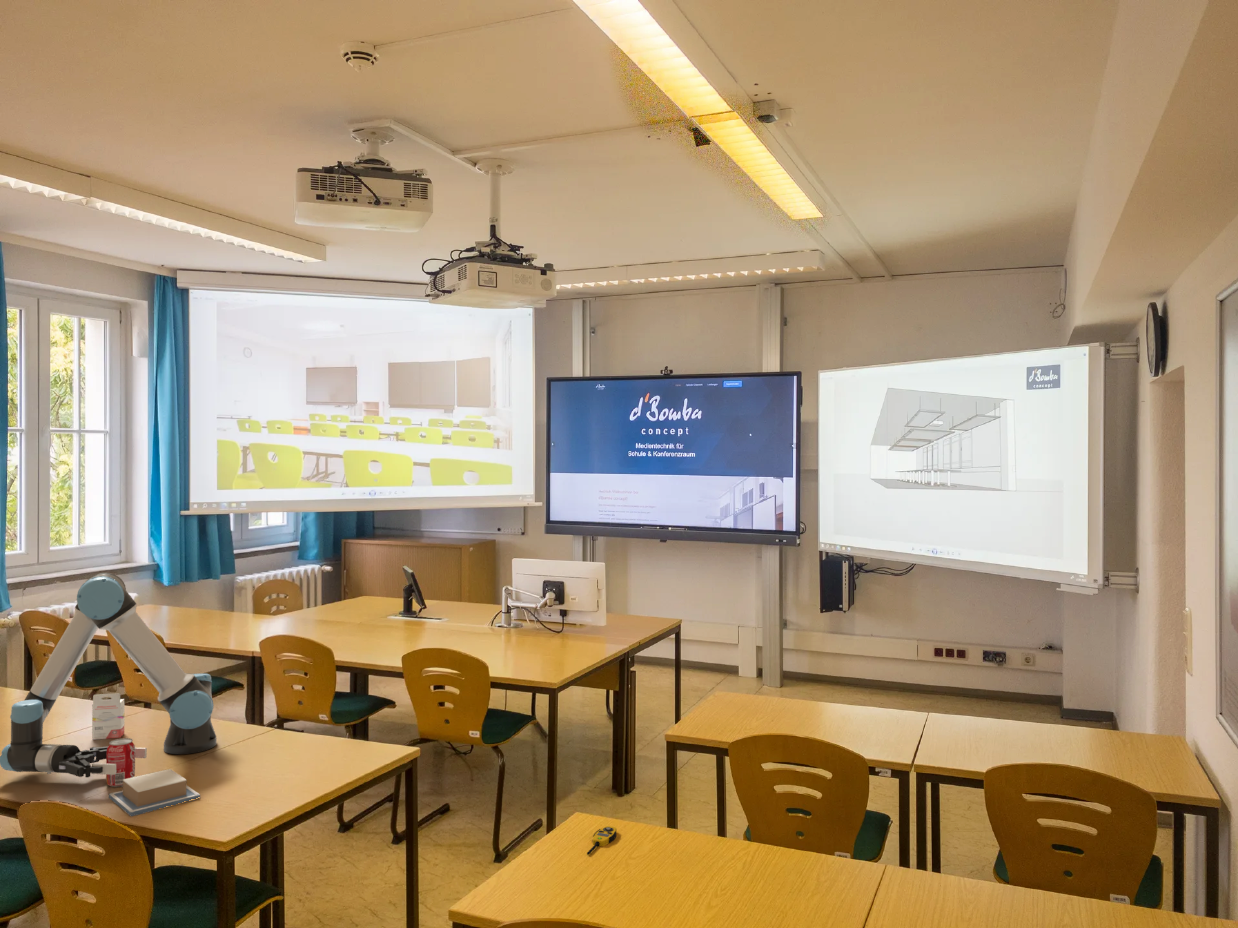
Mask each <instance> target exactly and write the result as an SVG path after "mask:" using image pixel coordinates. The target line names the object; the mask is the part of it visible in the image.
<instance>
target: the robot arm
mask: <svg viewBox="0 0 1238 928" xmlns="http://www.w3.org/2000/svg"><path fill="white" fill-rule="evenodd" d="M137 607H138V604H137V602H136V601H135V600H134V599H133V597H132V596H131V595H130V594H129V592H128V591H127V588H126V584H125V581H123V579H122V578H121V577H119V575H116V574H114V573H111V572H100V573H96V574H94V575H92V576H90V577H88V579H87V580H85V582H84V583H82V585H81V586H80V588H79V589H78V591H77V594H76V604H75V606H74V610H75V611H74V612H75V613H74V615H73V617H72V619H71V621H70V622H69V624H68V625H67V627H66V629H65V630H64V632H63V634H62V635H61V637H60V639H59V640H58V642H57V644H56V645H55V647H54V649H53V651H52V653H51V655H50V656H49V658H48V659H47V661H46V663H45V664H44V666H43V668H42V669H41V671H40V672H39V674H38V677H37V678H36V680H35V681H34V683H33V685H32V686H31V688H30V690H29V692H28V693H27V694H26V697H25V698H24V700H20V701H17V702H15V703H13V704H12V706H11V709H10V711H11V713H10V717H9V718H10V743H9V744H7V745H6V746H4V747H3V749H2V750H1V754H0V767H1V768H2V769H3V770H4V771H9V772H17V773H21V772H22V773H23V772H26V773H30V772H31V773H35V772H36V773H47V774H48V775H49V774H52V773H58V774H59V773H60V774H61V773H62V774H69V775H73V776H75V777H79V778H82V777H85V778H90V777H91V774H92V775H106V774H110V775H115V774H116V764H106V762H105V763H101V762H100V761H103V760H106V755H107V748H108V746H109V745H108V746H99V747H97V746H95V747H94V746H93V747H89V749H84V750H81V749H80V748H79V746H78V745H75V744H62V743H61V744H55V743H53V744H50V743H43V739H44V738H43V729H44V722H45V720H46V718H47V717H48V716H49V714H50V712H51V710H52V708H53V706H54V704H55V703H56V701H57V699H58V698H59V696H60V694H61V692H62V691H63V689H64V687H65V686H66V684H67V682H68V681H69V679H70V677H71V675H72V674H73V672H74V671H75V668H76V667H77V665H78V664H79V661H80V660H81V658H83V657H82V656H83V655H84V654H85V651H86V650H87V648H88V647H89V645H90V643H91V642H92V640H93V638H94V636H95V634H96V633H97V631H98V629H99V630H103V631H104V630H106V631H108V632H109V633H110V634H111V636H112V637H113V638H114V639H115V640H116V642H117V643H118V644H119V646H120V647H121V648H122V650H123V651H124V652H125V653H126V654H127V655H128V657H129V658H131V660H132V662H133V663H134V664H135V665H136V666H137V667H138V668H139V670H140V671H141V672H142V673H143V675H144V676H145V677H146V678H147V680H149V682H150V683H151V684H152V685H153V687H154V688H155V689H156V691H157V692H158V693H159V694H158V698H157V701H158V703H160V705H161V706H162V707H163V708H164V709H165V711H166V712H167V713H168V715H169V718H170V719H169V720H170V721H169V722H170V723H169V728H168V731H167V733H166V736H165V739H164V742H163V752H165V753H167V754H170V755H189V754H195V753H201V752H205V751H209V750H210V749H213V748H214V747H215V746H217V739H218V738H217V735H216V731H215V729H214V726H213V723H212V718H211V717H212V714H213V711H214V706H215V705H214V700H213V697H212V683H213V681H212V675H211V674H209V673H186V672H185V671H184V669H182V667H181V666H180V665H179V663H178V662H177V661H176V660H175V658H174V657H172V655H171V653H170V652H169V651H168V650H167V648H166V647H165V646H164V645H163V643H161V641H160V640H159V639H158V637H157V636H156V635H155V633H153V631H152V630H151V629H150V627H149V626H148V625H147V624H146V623H145V621H144V620H143V619H142V617H140V615H139V614H138V613H137ZM147 751H148V748H147V747H135V759H147V754H148V753H147ZM99 762H100V763H99Z"/></svg>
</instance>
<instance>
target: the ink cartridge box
mask: <svg viewBox="0 0 1238 928" xmlns="http://www.w3.org/2000/svg"><path fill="white" fill-rule="evenodd" d="M103 698H106V699H103ZM107 698H108V699H107ZM109 698H110V699H109ZM91 706H92V710H91V711H92V712H91V715H92V717H91V718H92V719H91V720H92V725H91V728H92V729H91V735H92V736H91V737H92V738H91V739H92V740H106V739H107V740H108V739H121V738H122V736H123V735H124V734H125V698H121V693H119V692H117V693H103V694H102V693H101V694H99V693H98V694H93V697H92V705H91Z"/></svg>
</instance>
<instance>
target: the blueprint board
mask: <svg viewBox="0 0 1238 928" xmlns="http://www.w3.org/2000/svg"><path fill="white" fill-rule="evenodd" d="M198 797H200V798H201V794H200V793H199V792H197V791H196V790H194V788H191V787H190V786H189V785H188V784H187V779H186V778H185V777H183V776H182V775H181V774H179V773H177V772H176V771H175V770H173V769H172V768H169V769H164V770H163V769H162V770H159V771H156V772H151V773H147V774H141V775H138V776H136V775H135V777H132V778H128V779H123V786H122V790H120V791H114V792H110V793H108V799H110V800H111V801H112V802H113V803H115V805H116V806H118V807H119V808H121V810H123V811H124V812H125V813H126V814H127V815H128V816H130V817H134V816H138V815H143V814H146V812H147V813H150V812H154V811H157V809H158V810H160V809H159V808H162V809H165V808H164V807H166V806H170V807H172V806H171V805H174V806H177V805H176V804H178V803H182V802H184V801H189V800H191V799H196V798H198ZM189 802H190V801H189ZM182 804H183V803H182ZM178 805H179V804H178ZM166 808H167V807H166ZM153 810H154V811H153Z"/></svg>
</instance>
